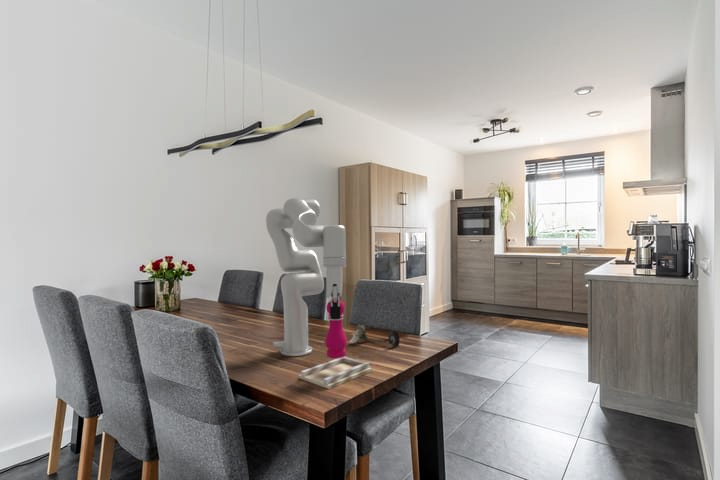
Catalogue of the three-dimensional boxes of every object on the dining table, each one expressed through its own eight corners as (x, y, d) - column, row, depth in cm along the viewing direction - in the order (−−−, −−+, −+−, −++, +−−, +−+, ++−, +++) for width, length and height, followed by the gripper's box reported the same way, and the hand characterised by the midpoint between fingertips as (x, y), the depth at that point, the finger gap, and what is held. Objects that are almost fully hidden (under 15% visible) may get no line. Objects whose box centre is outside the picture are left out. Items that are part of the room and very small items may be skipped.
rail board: (329, 389, 115) (328, 380, 115) (299, 378, 124) (299, 370, 124) (371, 371, 130) (371, 363, 130) (342, 362, 139) (342, 355, 139)
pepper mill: (339, 360, 122) (338, 297, 122) (321, 356, 126) (320, 296, 126) (351, 354, 128) (350, 294, 128) (333, 350, 132) (333, 293, 132)
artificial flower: (391, 353, 153) (384, 331, 152) (349, 350, 167) (342, 329, 166) (402, 342, 160) (395, 321, 159) (360, 340, 174) (354, 320, 173)
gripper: (324, 261, 135) (325, 312, 135) (322, 264, 118) (323, 322, 118) (345, 260, 136) (346, 311, 136) (346, 263, 118) (347, 322, 118)
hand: (335, 316), depth 127 cm, fingers closed on pepper mill, 5 cm apart
